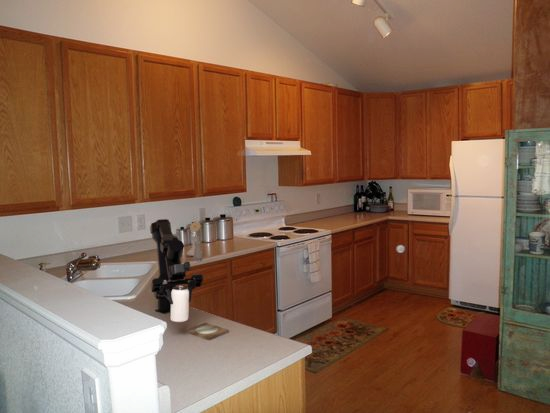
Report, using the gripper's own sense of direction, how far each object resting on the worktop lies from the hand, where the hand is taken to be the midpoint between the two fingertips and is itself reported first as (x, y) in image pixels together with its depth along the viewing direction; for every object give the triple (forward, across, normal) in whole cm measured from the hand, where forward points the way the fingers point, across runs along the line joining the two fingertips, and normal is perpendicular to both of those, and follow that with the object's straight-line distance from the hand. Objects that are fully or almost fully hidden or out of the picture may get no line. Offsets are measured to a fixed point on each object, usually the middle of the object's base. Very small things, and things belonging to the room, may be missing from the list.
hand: (181, 302), depth 162 cm
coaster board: (+8, +10, +10) cm, 17 cm away
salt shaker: (-85, +40, +106) cm, 142 cm away
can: (+4, -1, +6) cm, 7 cm away
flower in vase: (-96, +42, +117) cm, 157 cm away
